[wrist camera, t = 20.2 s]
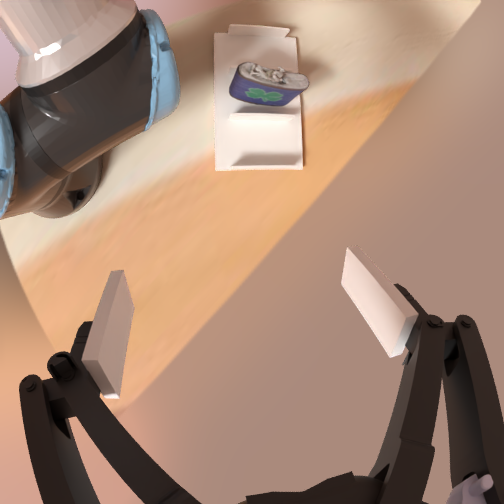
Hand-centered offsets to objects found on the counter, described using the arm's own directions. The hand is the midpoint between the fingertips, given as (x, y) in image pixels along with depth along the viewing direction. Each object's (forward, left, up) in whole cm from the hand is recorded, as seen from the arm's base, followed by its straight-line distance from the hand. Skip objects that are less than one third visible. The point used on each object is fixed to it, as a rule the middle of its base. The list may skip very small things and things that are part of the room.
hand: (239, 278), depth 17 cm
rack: (+7, +19, -28) cm, 35 cm away
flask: (+8, +19, -27) cm, 34 cm away
